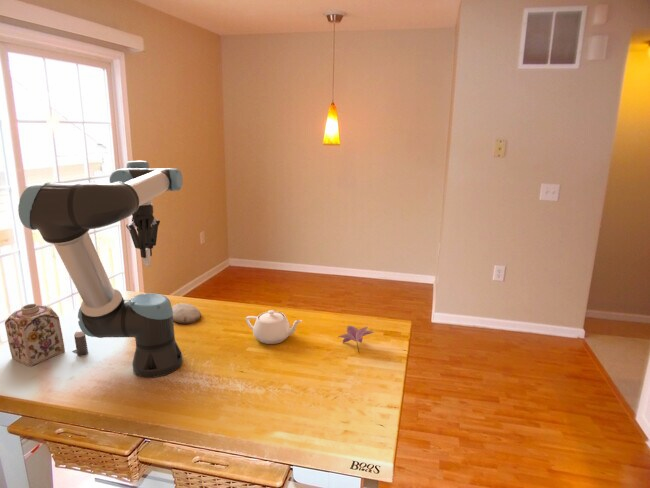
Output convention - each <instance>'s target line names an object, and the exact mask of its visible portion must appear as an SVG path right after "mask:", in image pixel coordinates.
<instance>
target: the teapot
mask: <svg viewBox="0 0 650 488" xmlns="http://www.w3.org/2000/svg"><path fill="white" fill-rule="evenodd" d="M252 319H253V320H255V322H254V325H252V323H251V321H250V320H252ZM245 322H246V325H247V326H248V327H249V328H250V329H251V330H252V334H253V336H254V339H256V340H257V341H258V342H260V343H262V344H267V345H276V344H279V343H282V342H284V341H285V340H286V339H288V337H289V336H291V335H293V334H294V333H295V332H296V329H297V325H298V324H299V323H301V322H303V320H302V319H296V320H295V321H294V322H293V325H292V326H291V323H290V322H289V320H288V318H287V316H286V314H285V313H284V312H281V311H276V310H273V309H271V310H268V311H264V312H262V313H260V314H258V316H255V315H248V316H246V317H245Z"/></svg>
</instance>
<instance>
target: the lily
mask: <svg viewBox="0 0 650 488" xmlns="http://www.w3.org/2000/svg"><path fill="white" fill-rule="evenodd" d="M374 333H375V331H373V330H368V326H365V327H362V328H360V329H359V328H357V327H356V326H353V325H348V326H347V327H346V333H344V334H341V335H339V336H338V338H341V339H342V338H343V340H342V344H344V343H347V342H349V341H354V342H356V346H357V351H358V352H357V353H358V354H360V349H359V344H358V343H362V342H363V337H364V336H367V335H371V334H374Z"/></svg>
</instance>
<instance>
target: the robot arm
mask: <svg viewBox="0 0 650 488" xmlns="http://www.w3.org/2000/svg"><path fill="white" fill-rule="evenodd" d="M183 182H184V179H183V173H182V171H181V170H180V169H179V168H171V167H167V168H163V167H162V168H150V164H149V162H148V161H147V160H130V161H129V160H128V161H127V162H126V167H125V168H118V169H116V170H114V171H112V172H111V174H110V176H109V183H94V182H93V183H91V182H81V183H80V182H66V183H65V182H61V183H58V182H54V183H51V182H48V181H47V182H42V183H41V182H40V183H32V184H30V185H28V186H27V187H26V188H24V190H23V192H22V193H21V195H20V196H19V197H20V198H19V202H18V207H17V208H18V209H17V212H18V217H19V220H20V222H21V224H22V225H23V227H25V228H26V229H30V230H32V231H36V230H37V231H38V232H39V233H40V236H41V237H42V239H43V241H45V242H46V243H47V244H51V245H53V246H54V248H55V249H56V251H57V254H58V255H59V257H60V259H61V261H62V263H63V265H64V267H65V270H66V271H67V273H68V275H69V276H70V278H71V280H72V283H73V284H74V286H75V289H76V290H77V293H78V294H79V296H80V298H81V300H82V302H81V303H80V304H81V305H80V307H79V308H78V312H77V318H78V326H79V329H80V330H82V332H83V333H84V334H85V336H87V337H91V338H99V339H104V338H134V340H135V351H134V354H133V359H132V371H133V373H134V374H135V375H136V376H138V377H141V378H158V377H161V376H165V375H166V376H167V375H168V374H171V373H173V372H175V371H176V370H178V369H180V367H181V366H182V364H183V362H184V361H183V360H184V359H183V352H182V351H181V349H180V347H179V345H178V343H177V341H176V339H175V338H176V337H175V326H174V325H175V324H174V320H173V310H172V307H173V306H172V302H171V300H170V298H168V297H167V296H165V295H164V294H160V293H154V292H145V293H139V294H137V295H134V296H133V297H132V298H131V299H124V297H123V295H122V292H121V291H119V290H118V289H116V288H113V285H112V283H111V282H110V279H109V277H108V274H107V272H106V270H105V267H104V266H103V263H102V261H101V259H100V257H99V256H100V255H99V253H98V252H97V250H96V247H95V244H94V243H93V241H92V238H91V236H90V234H89V231H90V230H95V229H101V228H104V227H107V226H110V225H113V224H115V223H118V222H120V221H123V220H126V219H127V218H129V217H130V216H132V217H131V222H130V223H128V224H126V225H125V226H126V227H125V228H127V230H128V231H129V233H130V237H131V239H132V243H133V245H134V248H135V249H138V250H140V257H141V258H142V264H143V266H144V267H145V266H146V267H150V266H152V258H151V257H153V251H152V250H153V249H154V247H155V246H156V245H157V240H158V239H157V237H158V229H159V226H160V222H161V221H160V220H159V219H156V218H155V216H154V204H153V199H155V198H156V197H159V196H160V195H162V194H163V193H166V192H175V191H180V190H181V189H182V188H183V184H184V183H183Z"/></svg>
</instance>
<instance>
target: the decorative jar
mask: <svg viewBox="0 0 650 488" xmlns="http://www.w3.org/2000/svg"><path fill="white" fill-rule="evenodd" d="M4 326H5V332H6V336H7V342H8V347H9V352H10V356H11V358H12V359H14V360H15V361H18V362H20V363H21V364H23V365H25V366H28V367H33V366H35V365H37V364H39V363H42V362H44V361H46V360H49V359H51V358H54V357H55V356H58V355H60V354H63V353H65V352H66V350H65V349H66V348H65V341H64V337H63V332H62V327H61V321H60V317H59V315H58V314H57V312H56V311H54V309H53V308H52V307H50V306H47V305H39V304H38V303H28V304H25V305H22V307H21V308H19V309H18V310H15V311H13V312H12V313H11V314H10V315H8V317H7V318H6V320H5V322H4Z"/></svg>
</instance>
